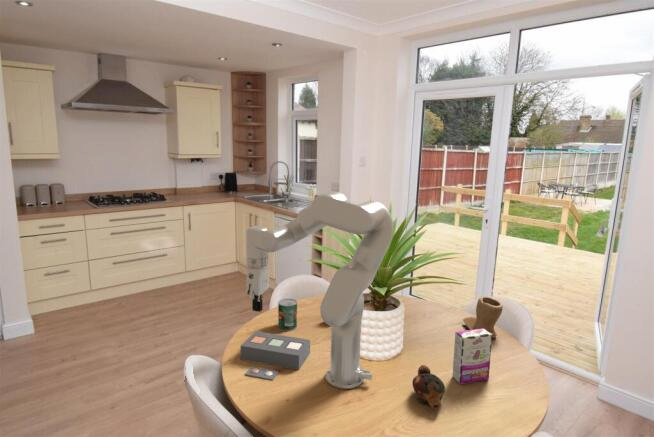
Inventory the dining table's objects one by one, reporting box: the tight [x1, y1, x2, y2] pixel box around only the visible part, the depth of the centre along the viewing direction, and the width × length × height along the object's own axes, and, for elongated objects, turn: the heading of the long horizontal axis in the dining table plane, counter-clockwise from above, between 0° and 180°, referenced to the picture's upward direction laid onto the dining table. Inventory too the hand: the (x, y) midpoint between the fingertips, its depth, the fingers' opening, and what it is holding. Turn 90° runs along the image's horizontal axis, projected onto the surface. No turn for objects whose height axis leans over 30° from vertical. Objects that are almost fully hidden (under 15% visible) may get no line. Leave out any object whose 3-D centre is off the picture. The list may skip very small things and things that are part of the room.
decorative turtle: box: [411, 364, 446, 410], centre depth 124 cm, size 10×15×8 cm, turn 8°
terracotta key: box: [250, 336, 266, 344], centre depth 149 cm, size 4×4×2 cm
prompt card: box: [244, 366, 280, 381], centre depth 136 cm, size 10×5×1 cm, turn 74°
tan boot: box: [462, 296, 503, 339], centre depth 169 cm, size 15×12×15 cm
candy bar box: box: [452, 328, 493, 385], centre depth 134 cm, size 11×5×16 cm, turn 105°
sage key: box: [268, 339, 284, 347], centre depth 147 cm, size 4×4×2 cm
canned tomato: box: [277, 298, 298, 332], centre depth 170 cm, size 8×8×11 cm
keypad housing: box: [240, 330, 311, 371], centre depth 147 cm, size 22×12×5 cm, turn 74°
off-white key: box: [286, 342, 302, 350], centre depth 145 cm, size 4×4×2 cm
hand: (257, 310), depth 146 cm, fingers closed
